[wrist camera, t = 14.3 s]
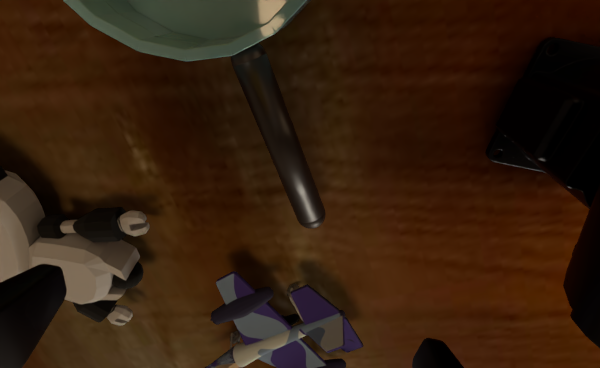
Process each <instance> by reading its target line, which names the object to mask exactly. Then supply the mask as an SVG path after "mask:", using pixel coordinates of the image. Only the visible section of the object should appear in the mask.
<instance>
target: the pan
mask: <svg viewBox="0 0 600 368" xmlns="http://www.w3.org/2000/svg"><path fill="white" fill-rule="evenodd" d="M63 1H64V2H65V3H67V4H68V5H69V6H70V7H71V8H72V9H73V10H74V11H75V12H76V13H77V14H79V15H80V16H81V17H82V18H83V19H84V20H85V21H86V22H87V23H88V24H89V25H91V26H92V27H94V28H96V29H98V30H100V31H101V32H103V33H105V34H107V35H109V36H111V37H112V38H114V39H116V40H118V41H120V42H122V43H123V44H125V45H127V46H129V47H131V48H133V49H134V50H136V51H139V52H142V53H147V54H152V55H156V56H161V57H166V58H171V59H176V60H180V61H188V62H189V61H196V60H204V59H212V58H220V57H227V56H232V55H235V54H237V53H239V52H241V51H243V50H245V49H247V48H249V47H251V46H253V45H255V44H256V43H258V42H260V41H262V40H264V39H266V38H268V37H270V36H272V35H274V34H275V33H277V32H278V31H280V30H281V29H283V28H284V27H286V26H287V25H288V24H289V23H290V22H291V21H292V20H293V19H294V18H295V17H296V16H297V14H298V13H300V12H301V10H302V9H303V8H304V7H305V6H306V5H307V4H308V3H309V2H310V1H311V0H63Z"/></svg>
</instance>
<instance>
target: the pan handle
mask: <svg viewBox="0 0 600 368" xmlns="http://www.w3.org/2000/svg"><path fill="white" fill-rule="evenodd" d="M231 62H232V66H233V68H234V71H235V73H236V75H237V78H238V80H239V82H240V85H241V87H242V89H243V92H244V94H245V96H246V99H247V101H248V104H249V106H250V108H251V111H252V113H253V115H254V118H255V120H256V122H257V125H258V127H259V130H260V132H261V134H262V137H263V139H264V141H265V144H266V146H267V148H268V151H269V153H270V156H271V158H272V160H273V163H274V165H275V167H276V170H277V172H278V174H279V177H280V179H281V181H282V184H283V186H284V189H285V191H286V193H287V196H288V198H289V200H290V203H291V205H292V207H293V210H294V212H295V215H296V217H297V219H298V221H299V223H300V224H301V225H302V226H304V227H306V228H316V227H318V226H320V225H321V224H322V223H323V221H324V219H325V209H324V206H323V204H322V201H321V198H320V196H319V193H318V190H317V188H316V185H315V182H314V180H313V177H312V174H311V172H310V169H309V166H308V164H307V161H306V158H305V156H304V153H303V150H302V148H301V145H300V142H299V139H298V137H297V134H296V131H295V129H294V126H293V123H292V121H291V118H290V115H289V113H288V110H287V107H286V105H285V102H284V99H283V97H282V94H281V91H280V89H279V86H278V83H277V81H276V78H275V75H274V73H273V70H272V67H271V65H270V62H269V59H268V57H267V54H266V52H265V49H264V48H263V47H262V46H261V45H260V44H259V43H256V44H255V45H253V46H251V47H249V48H247V49H245V50H243V51H241V52H239V53H237V54H235V55H232V56H231Z"/></svg>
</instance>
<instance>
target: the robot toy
mask: <svg viewBox="0 0 600 368" xmlns="http://www.w3.org/2000/svg"><path fill="white" fill-rule="evenodd" d="M146 220H147V218H146V215H145V214H144V213H143V212H141V211H134V210H131V211H128V212H126V211H125V210H124V209H123V208H122V207H117V208H98V209H95V210H93V211H92V212H90V213H88V214H86V215H84V216H83V217H81V218H80V219H78V220H69V219H68V218H67V217H66V216H65V215H64V214H60V215H48V216H46V217H45V214H44V211H43V208H42V206H41V204H40V202H39V200H38V198H37V196H36V195H35V193H34V191H33V190H32V189H31V188H30V187H29V186H28V185H27V184H26V183H25V182H24V181H23V180H22V179H21V178H20V177H19V176H18V175H17V174H16V173H12V172H9V171H5V170H4V169H3V168H2V166H0V282H2V281H4V280H7V279H9V278H11V277H13V276H15V275H17V274H20V273H22V272H24V271H26V270H28V269H30V268H33V267H35V266H37V265H39V264H50V265H55V266H59V267H61V269H62V270H63V275H64V279H65V283H66V288H67V293H66V297H65V300H68V301H72V302H73V304H74V306H75V307H76V309H77V311H78V312H80V313H82V314H83V315H85V316H87V317H89V318H91V319H93V320H95V321H97V322H101V321H102V320H103V319H105V317H107V318H108V319H109V321H110V322H111V323H112V324H115V325H119V326H121V325H125V324H126V323H127V321H129V320H130V319H131V318H132V316H133V314H132V311H131V310H130V309H129V308H128V307H127V306H123V305H115V304H116V302H117V300H118V299H119V298H120V297H121V296H123V295H124V293H125V291H126V290H127V289H129V288H132V287H134V286H136V285H137V284H138V283H139V282H140V281H141V279H142V276H143V268H142V265H141V264H140V263H139V262H138V260H139V258H140V255H139V253H138V251H137V248H136V247H134V246H132V245H131V244H129V243H127V242H125V241H123V240H122V239H123V238H124V237H125V236H126V234H129V235H131V236H134V237H135V236H139V235H143V234H145V233H147V232H148V230H149V227H150V226H149V223H145V221H146Z"/></svg>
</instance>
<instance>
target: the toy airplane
mask: <svg viewBox="0 0 600 368" xmlns="http://www.w3.org/2000/svg"><path fill="white" fill-rule="evenodd" d="M216 285H217V287H218V289H219V291H220V293H221V295H222V297H223V299H224V302H225V303H224V304H223V305H222V306H220V307H219V308H217V309H216V310H214V311H213V312H212V313H211V321H213V323H215V324H220V323H224V322H228V321H231V320H234V323H235V325H236V327H237V329H238V331H235V332H234V333H231V337H230V342H231V343H230V350H228V351H227V352H226V353H224V354H223V355H222V356H221V357H219V358H218V359H217V360H215V361H214V362H213V363H212V364H210V365H208V366H207V367H205V368H239V367H244V366H246V365H248V364H249V363H251V362H253V361H254V360H256V359H259V360H261V361H263V362H266V363H268V364H270V365H272V366H275V367H277V368H346V363H345V361H344V360H343V359H329V360H323V359H322V358H321V357H320V356H319V355H318V354H317V353H316V352H315V351H314V350H313V349H312V348H311V347H310V346H309V345H308V344H307V343H306V342H305V341H304V340H303V339H302V337H304V336H306V335H308V336H309V337H311V338H312V339H313V340H314V341H315V342H316V343H317V344H318V345H319V346H320V347H321V348H322V349H324V350H325V351H326V352H327V353H330V352H332V351H335V350H338V349H342V350H344V351H345V352H350V351H353V350H355V349H358V348H361V347H363V344H362V342H361V340H360V339H359V337H358V336H357V334H356V332H355V331H354V329H353V328H352V326H351V324H350V323H349V321H348V320H347V318H346V317H345V312H344V311H343V310H339V309H338V308H336V307H335V306H334V305H333V304H331V303H330V302H329V301H328V300H327V299H325V298H324V297H323V296H322V295H320V294H319V293H318V292H317V291H315V290H314V289H313V288H312V287H310V286H309V285H308V284H307V285H305V286H303V287H300V288H299V286H298V285H297V284H292V285H291V286H290V287H289V288H288V290H287V295H288V296H289V299H290V300H291V302H292V304H293V306H294V307H295V309H296V311H297V313H298V314H299V316H300V318H301V320H302V321H303V323H301V324H298V325H296V326H293V327H292V326H291V325H293V324H295V323H296V322H298V321H299V316H298V315H297V314H292V315H289V316H283V315H280V314H279V313H278V312H277V311H276V310H275V309H274V308H273V307H272V306H271V305H270V304H269V303H268V302H267V301H269V300H270V299H271V298H272V297H273V294H274V292H273V290H272V289H271V288H270V287H264V288H259V289H255V290H254V289H253V288H252V287H251V286H250V285H249V284H248V283H247V282H246V281H245V280H244V279H243V278H242V277H241V276H240V275H239V274H238V273H237V272H235V271H233V272H231V273H229V274H227V275H225V276H223V277H221V278H220V279H218V280H217V282H216ZM292 298H293V299H292ZM293 300H294V301H293ZM294 302H295V303H294ZM240 337H242V339H243V341H244V342H243V343H239V342H240ZM236 342H238V344H236V345H235V346H234V347H232V343H236Z"/></svg>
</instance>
